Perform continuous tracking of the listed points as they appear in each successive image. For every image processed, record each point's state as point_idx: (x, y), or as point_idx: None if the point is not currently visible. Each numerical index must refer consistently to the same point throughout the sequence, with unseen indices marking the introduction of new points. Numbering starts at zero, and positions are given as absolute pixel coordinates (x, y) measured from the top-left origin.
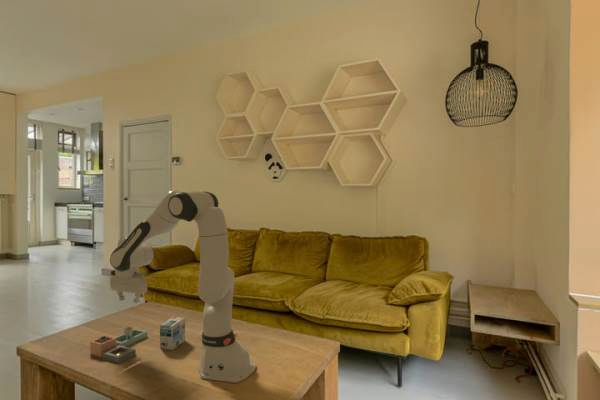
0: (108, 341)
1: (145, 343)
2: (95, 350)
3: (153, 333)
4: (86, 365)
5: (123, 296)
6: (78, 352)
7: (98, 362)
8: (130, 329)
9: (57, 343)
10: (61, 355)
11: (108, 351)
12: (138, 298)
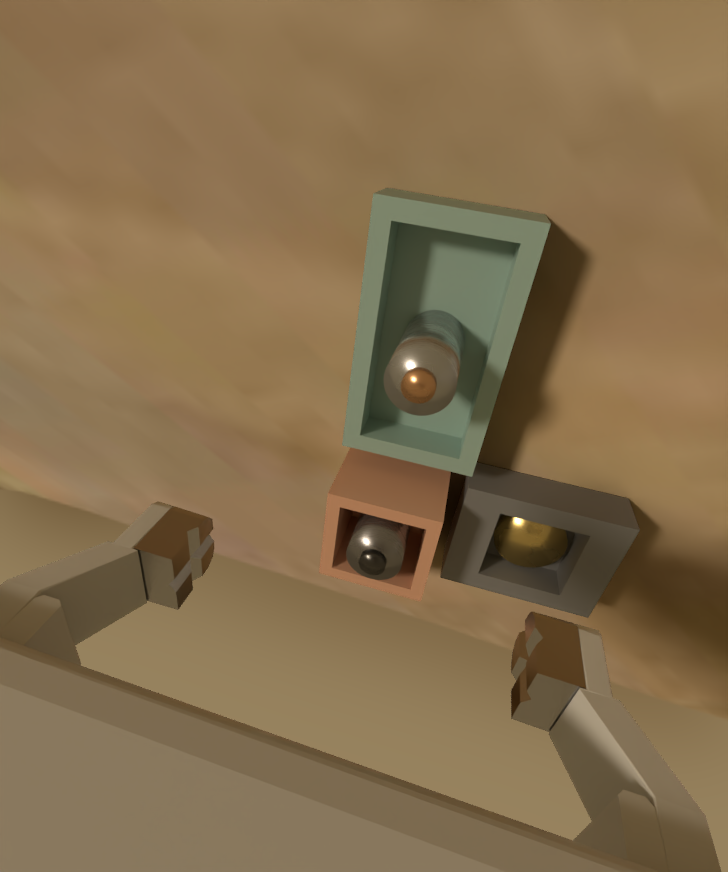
0: (430, 565)
1: (590, 316)
2: None
3: (545, 78)
4: None
5: (174, 577)
6: (250, 490)
7: None
8: (454, 392)
9: (48, 421)
10: None
11: (467, 562)
12: (613, 718)
